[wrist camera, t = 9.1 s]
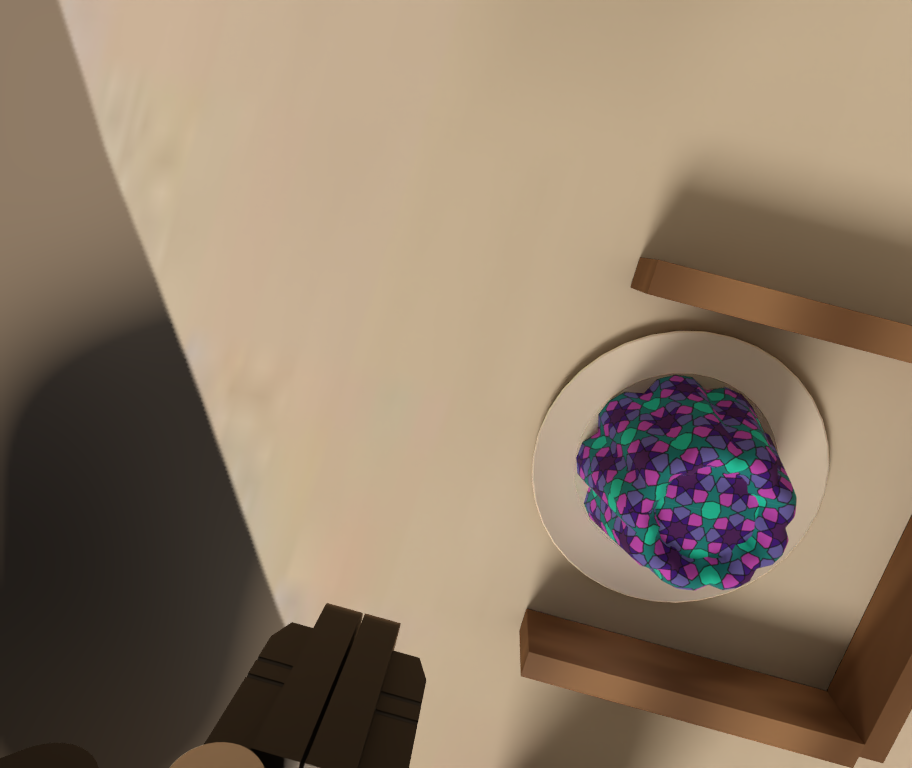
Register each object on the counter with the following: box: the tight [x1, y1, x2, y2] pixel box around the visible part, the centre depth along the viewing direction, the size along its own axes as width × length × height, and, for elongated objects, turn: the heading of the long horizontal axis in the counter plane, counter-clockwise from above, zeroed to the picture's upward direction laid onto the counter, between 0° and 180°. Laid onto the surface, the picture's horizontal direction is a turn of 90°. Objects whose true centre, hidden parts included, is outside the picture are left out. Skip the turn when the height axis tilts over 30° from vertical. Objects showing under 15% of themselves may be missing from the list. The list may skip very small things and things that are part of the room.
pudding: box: [532, 331, 829, 603], centre depth 23 cm, size 12×12×5 cm
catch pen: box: [520, 258, 912, 768], centre depth 24 cm, size 15×17×3 cm
